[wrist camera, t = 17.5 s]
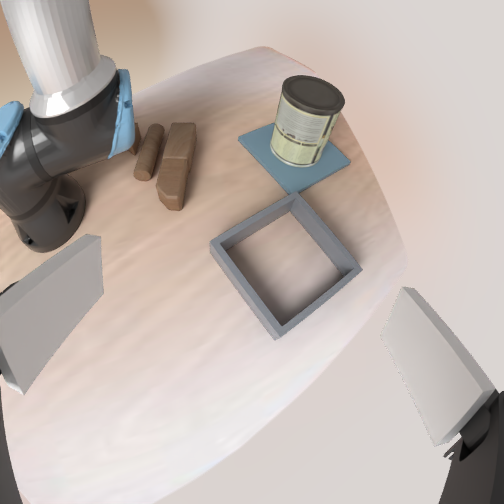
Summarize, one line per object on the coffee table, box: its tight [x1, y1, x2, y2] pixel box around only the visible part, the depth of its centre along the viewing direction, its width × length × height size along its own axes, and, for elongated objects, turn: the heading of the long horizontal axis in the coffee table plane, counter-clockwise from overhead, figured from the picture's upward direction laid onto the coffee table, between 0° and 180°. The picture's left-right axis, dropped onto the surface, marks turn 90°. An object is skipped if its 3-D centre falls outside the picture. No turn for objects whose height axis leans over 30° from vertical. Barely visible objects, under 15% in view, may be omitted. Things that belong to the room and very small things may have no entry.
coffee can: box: [270, 75, 345, 168], centre depth 45 cm, size 10×10×14 cm
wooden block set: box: [128, 123, 196, 211], centre depth 45 cm, size 17×6×18 cm
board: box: [238, 123, 350, 195], centre depth 52 cm, size 16×16×1 cm
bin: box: [209, 191, 363, 340], centre depth 41 cm, size 16×16×4 cm
